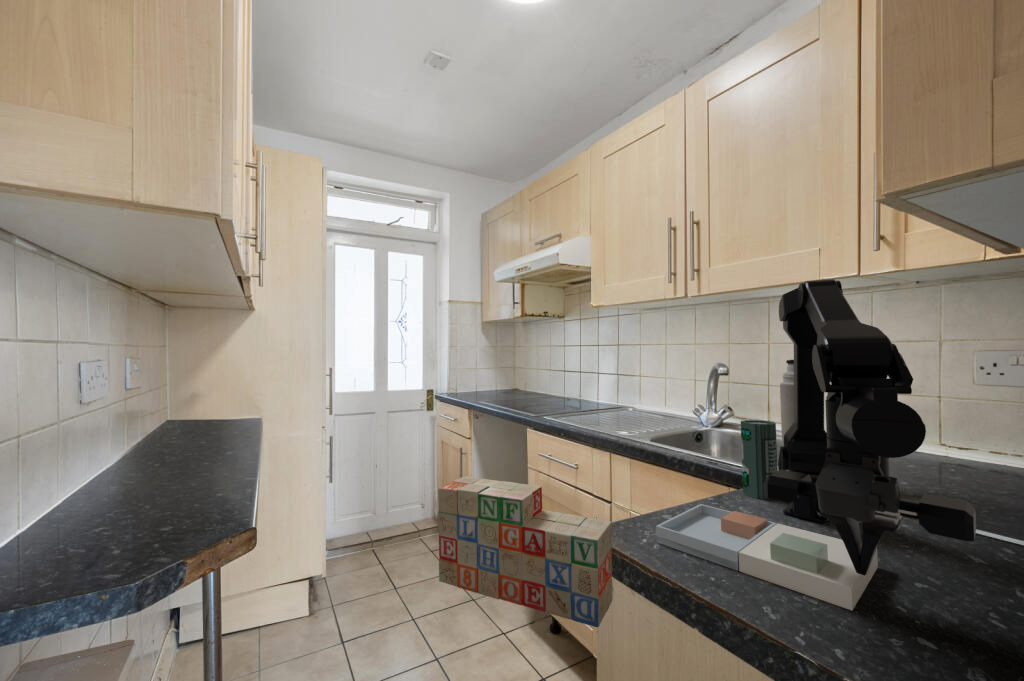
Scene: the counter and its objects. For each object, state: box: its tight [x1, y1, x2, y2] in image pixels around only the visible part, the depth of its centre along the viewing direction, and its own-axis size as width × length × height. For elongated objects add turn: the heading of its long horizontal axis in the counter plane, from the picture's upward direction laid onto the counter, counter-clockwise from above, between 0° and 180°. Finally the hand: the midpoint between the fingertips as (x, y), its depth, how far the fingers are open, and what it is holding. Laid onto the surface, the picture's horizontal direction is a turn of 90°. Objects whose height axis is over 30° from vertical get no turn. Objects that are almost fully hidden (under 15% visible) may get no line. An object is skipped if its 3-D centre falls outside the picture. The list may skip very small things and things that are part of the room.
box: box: [655, 503, 777, 571], centre depth 67 cm, size 15×12×2 cm
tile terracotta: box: [721, 510, 768, 539], centre depth 68 cm, size 5×5×2 cm
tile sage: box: [770, 533, 828, 573], centre depth 55 cm, size 5×5×2 cm
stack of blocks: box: [437, 475, 614, 628], centre depth 53 cm, size 21×6×12 cm, turn 62°
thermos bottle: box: [779, 359, 794, 471], centre depth 101 cm, size 8×8×28 cm
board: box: [738, 523, 879, 611], centre depth 58 cm, size 15×12×2 cm
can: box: [740, 419, 779, 501], centre depth 89 cm, size 6×6×15 cm
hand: (861, 573), depth 50 cm, fingers closed
